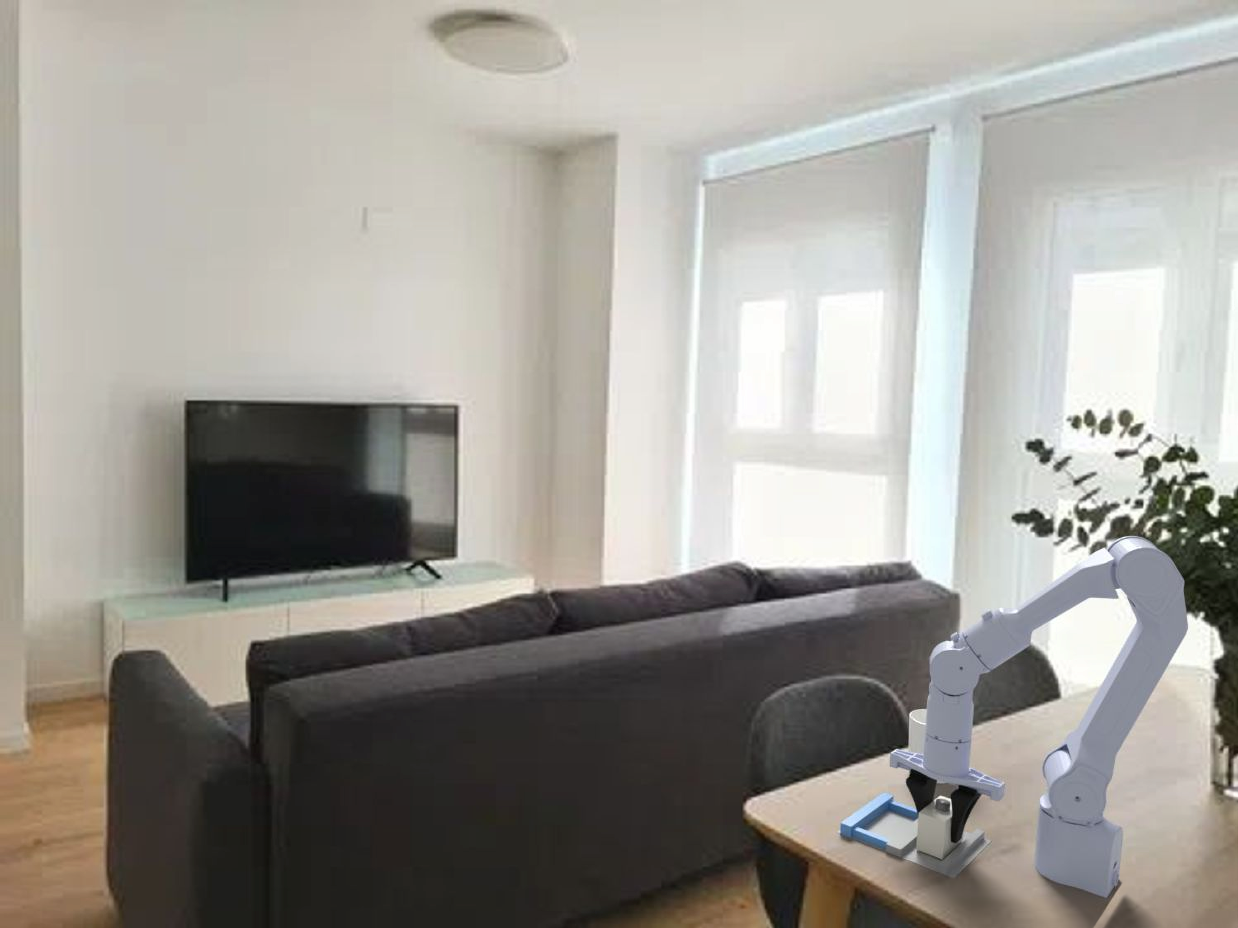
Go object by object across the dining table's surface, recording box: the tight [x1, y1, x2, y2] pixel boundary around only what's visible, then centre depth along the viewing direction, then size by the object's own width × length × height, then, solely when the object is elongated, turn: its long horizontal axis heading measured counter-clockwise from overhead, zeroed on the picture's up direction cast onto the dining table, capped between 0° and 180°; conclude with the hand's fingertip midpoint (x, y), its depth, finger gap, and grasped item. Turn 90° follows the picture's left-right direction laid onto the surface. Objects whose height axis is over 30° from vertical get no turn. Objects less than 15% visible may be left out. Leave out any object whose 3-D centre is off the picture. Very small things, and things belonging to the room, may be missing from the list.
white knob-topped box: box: [916, 795, 965, 859], centre depth 122 cm, size 4×7×6 cm, turn 139°
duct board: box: [836, 792, 992, 879], centre depth 124 cm, size 16×13×2 cm
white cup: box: [908, 708, 947, 785], centre depth 144 cm, size 8×8×10 cm
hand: (940, 834), depth 122 cm, fingers closed on white knob-topped box, 3 cm apart
